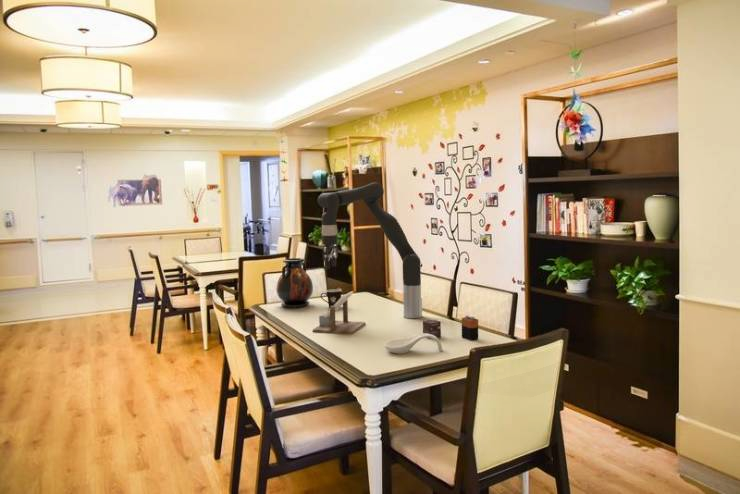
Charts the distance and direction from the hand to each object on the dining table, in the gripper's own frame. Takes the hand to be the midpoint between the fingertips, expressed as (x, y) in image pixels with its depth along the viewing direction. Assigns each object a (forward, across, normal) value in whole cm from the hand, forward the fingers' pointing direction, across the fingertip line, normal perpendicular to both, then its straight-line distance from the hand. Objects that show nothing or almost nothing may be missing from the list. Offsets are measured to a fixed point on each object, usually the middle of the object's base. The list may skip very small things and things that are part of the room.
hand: (330, 267), depth 267 cm
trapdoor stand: (+30, -1, -4) cm, 30 cm away
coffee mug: (+30, +46, +18) cm, 57 cm away
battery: (+31, -6, -68) cm, 75 cm away
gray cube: (+26, 0, +1) cm, 26 cm away
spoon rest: (+31, -31, -47) cm, 64 cm away
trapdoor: (+18, 0, -4) cm, 18 cm away
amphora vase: (+30, +45, +41) cm, 68 cm away
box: (+30, -7, -51) cm, 60 cm away
